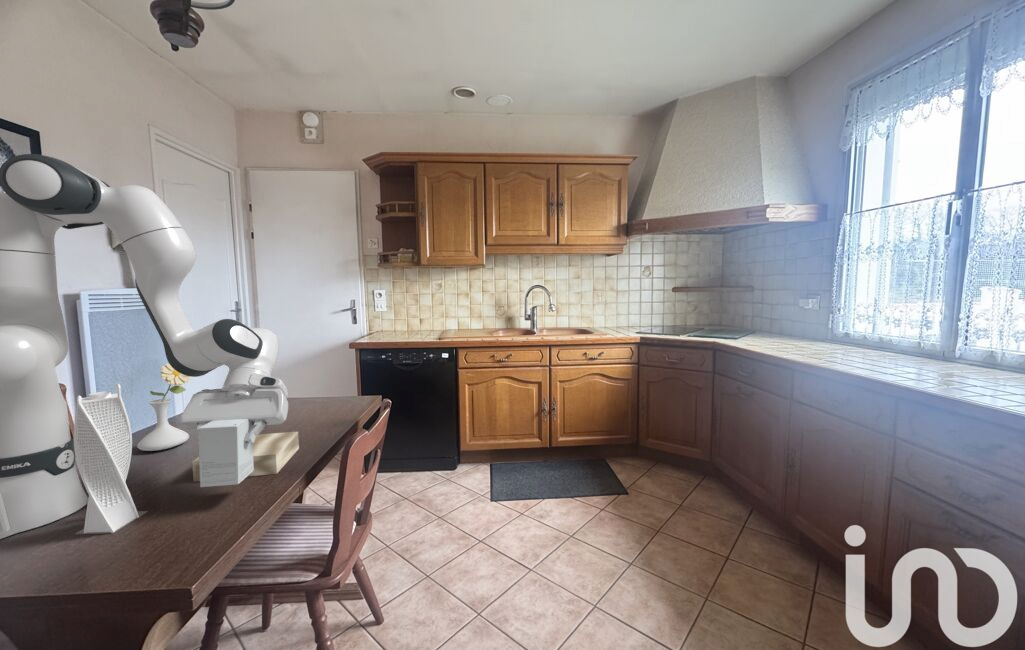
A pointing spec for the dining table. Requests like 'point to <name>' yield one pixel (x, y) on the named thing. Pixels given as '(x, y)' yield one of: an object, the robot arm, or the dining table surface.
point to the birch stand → (266, 453)
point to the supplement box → (225, 452)
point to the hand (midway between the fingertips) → (225, 443)
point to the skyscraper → (104, 461)
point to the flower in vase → (165, 415)
